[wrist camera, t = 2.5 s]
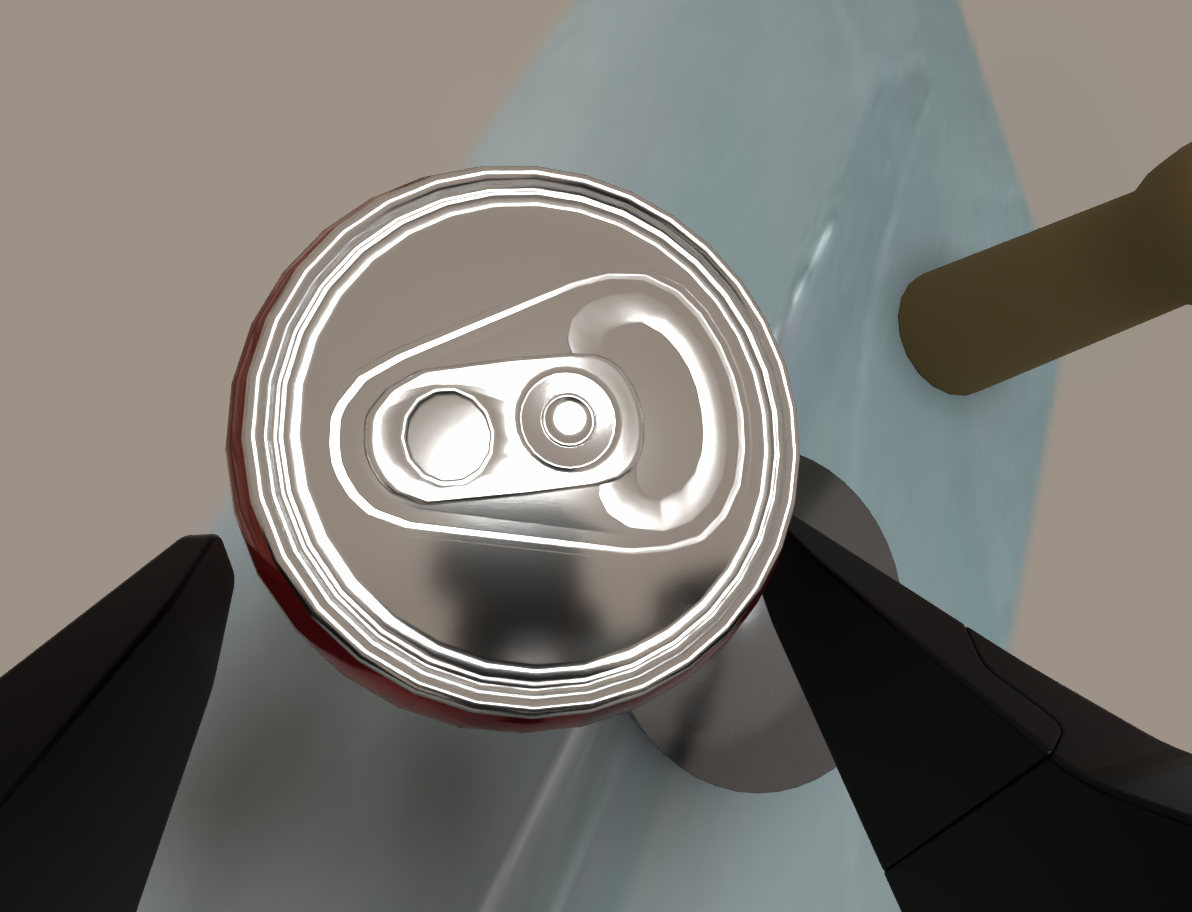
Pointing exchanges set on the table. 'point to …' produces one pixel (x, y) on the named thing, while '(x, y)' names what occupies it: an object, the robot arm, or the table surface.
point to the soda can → (513, 448)
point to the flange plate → (762, 674)
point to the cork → (1054, 286)
